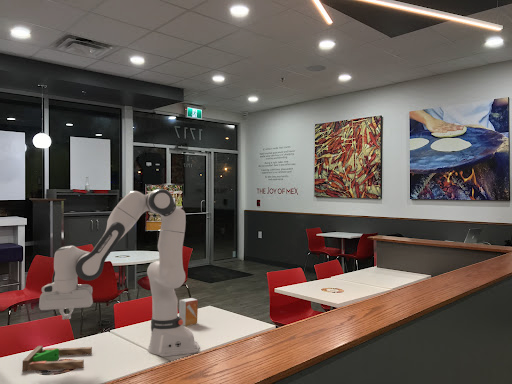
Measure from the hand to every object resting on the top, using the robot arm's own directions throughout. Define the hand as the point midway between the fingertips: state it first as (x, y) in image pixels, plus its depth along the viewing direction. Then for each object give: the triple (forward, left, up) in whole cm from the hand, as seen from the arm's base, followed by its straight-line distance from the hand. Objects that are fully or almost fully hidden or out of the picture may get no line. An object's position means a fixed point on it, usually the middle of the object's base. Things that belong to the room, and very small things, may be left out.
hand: (66, 318), depth 172 cm
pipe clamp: (+8, +1, -18) cm, 19 cm away
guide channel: (+2, 0, -17) cm, 17 cm away
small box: (-50, -47, -17) cm, 71 cm away
